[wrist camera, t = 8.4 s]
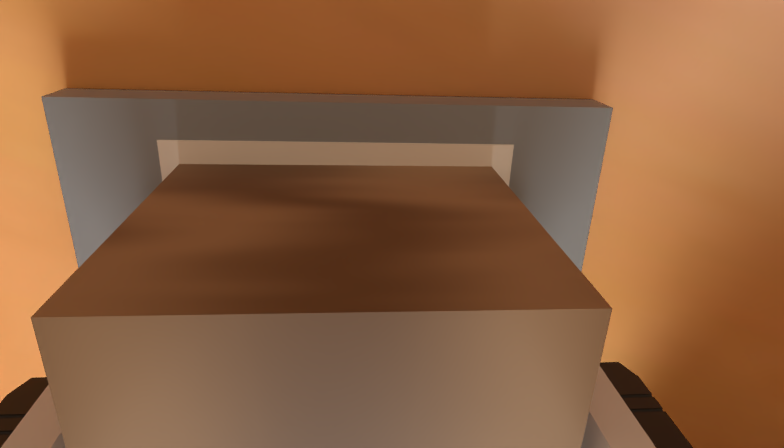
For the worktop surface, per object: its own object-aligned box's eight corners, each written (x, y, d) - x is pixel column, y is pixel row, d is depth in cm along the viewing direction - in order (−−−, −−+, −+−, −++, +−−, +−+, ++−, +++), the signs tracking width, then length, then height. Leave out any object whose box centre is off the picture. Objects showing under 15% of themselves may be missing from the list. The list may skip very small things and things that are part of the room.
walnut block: (210, 413, 17) (126, 675, 10) (179, 163, 14) (30, 317, 7) (465, 405, 17) (536, 646, 11) (491, 166, 14) (611, 308, 8)
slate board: (131, 422, 18) (117, 450, 17) (65, 88, 14) (40, 96, 13) (537, 409, 19) (550, 435, 18) (593, 99, 15) (613, 108, 14)
